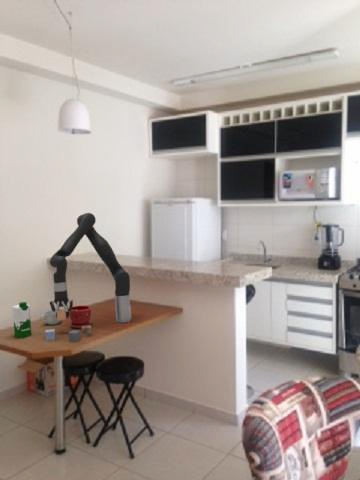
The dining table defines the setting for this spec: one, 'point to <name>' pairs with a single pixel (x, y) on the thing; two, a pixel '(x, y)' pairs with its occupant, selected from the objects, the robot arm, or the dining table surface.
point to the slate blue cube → (50, 334)
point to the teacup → (50, 317)
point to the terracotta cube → (61, 314)
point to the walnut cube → (86, 331)
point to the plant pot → (80, 316)
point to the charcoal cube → (74, 336)
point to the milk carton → (22, 320)
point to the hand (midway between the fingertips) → (62, 317)
